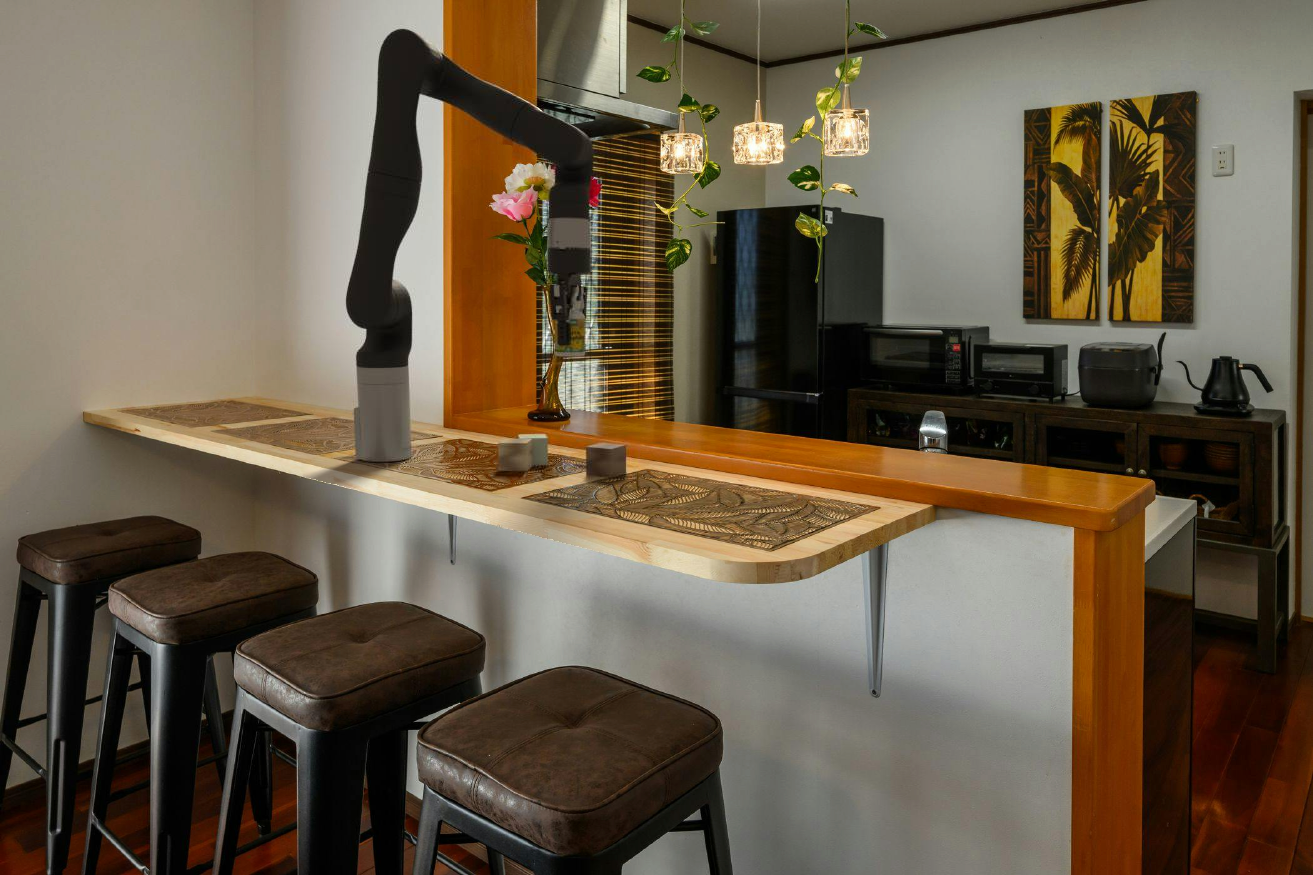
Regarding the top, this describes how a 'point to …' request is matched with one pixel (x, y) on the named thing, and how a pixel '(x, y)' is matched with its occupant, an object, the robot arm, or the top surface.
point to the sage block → (538, 448)
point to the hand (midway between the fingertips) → (569, 344)
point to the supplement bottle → (573, 335)
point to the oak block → (515, 454)
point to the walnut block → (606, 460)
